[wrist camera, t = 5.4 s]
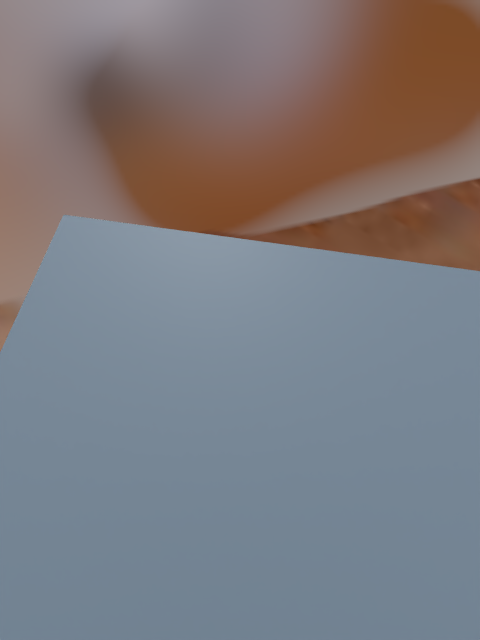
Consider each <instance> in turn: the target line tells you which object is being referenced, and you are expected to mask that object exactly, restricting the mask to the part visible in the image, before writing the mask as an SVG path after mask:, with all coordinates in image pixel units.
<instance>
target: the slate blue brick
mask: <svg viewBox="0 0 480 640" xmlns="http://www.w3.org/2000/svg"><path fill="white" fill-rule="evenodd" d="M0 640H480V271H473V270H466V269H459V268H451V267H444V266H437V265H429V264H422V263H415V262H407V261H400V260H393V259H385V258H378V257H370V256H363V255H356V254H348V253H341V252H334V251H326V250H319V249H312V248H304V247H297V246H290V245H282V244H275V243H268V242H260V241H253V240H245V239H238V238H231V237H223V236H216V235H209V234H201V233H194V232H187V231H179V230H172V229H164V228H157V227H150V226H143V225H135V224H128V223H121V222H112V221H106V220H98V219H90V218H83V217H76V216H69V215H63V217H62V220H61V222H60V224H59V226H58V228H57V230H56V233H55V235H54V237H53V239H52V241H51V243H50V246H49V248H48V250H47V252H46V254H45V257H44V259H43V261H42V263H41V266H40V268H39V270H38V272H37V274H36V276H35V278H34V281H33V283H32V285H31V287H30V289H29V291H28V293H27V296H26V298H25V300H24V302H23V304H22V307H21V309H20V311H19V313H18V315H17V317H16V320H15V322H14V324H13V326H12V328H11V330H10V333H9V335H8V337H7V339H6V341H5V344H4V346H3V348H2V350H1V352H0Z"/></svg>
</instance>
